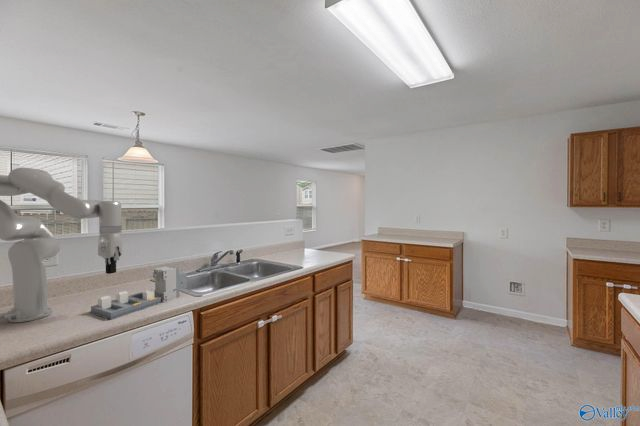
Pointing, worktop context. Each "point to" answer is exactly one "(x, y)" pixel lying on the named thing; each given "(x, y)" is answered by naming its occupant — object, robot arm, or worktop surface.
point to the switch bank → (125, 306)
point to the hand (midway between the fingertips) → (111, 272)
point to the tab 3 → (148, 294)
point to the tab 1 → (104, 302)
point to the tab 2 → (122, 297)
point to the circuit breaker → (169, 282)
